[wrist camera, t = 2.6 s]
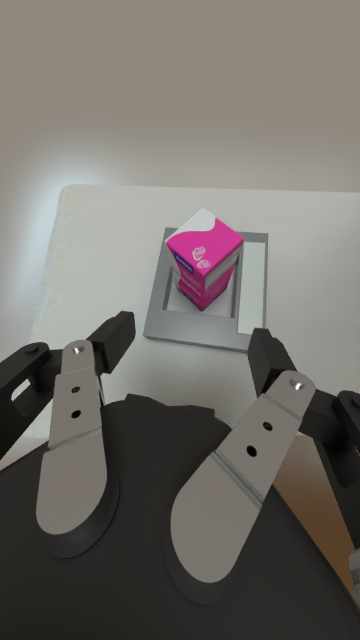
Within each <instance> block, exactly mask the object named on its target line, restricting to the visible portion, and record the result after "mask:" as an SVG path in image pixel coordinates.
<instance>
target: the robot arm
mask: <svg viewBox="0 0 360 640" xmlns="http://www.w3.org/2000/svg"><path fill="white" fill-rule="evenodd" d="M135 334H136V330H135V320H134V314H133V312H127V311H121V312H120V313H119V314H118V315H117V316H116V317H112V318H110V319H108V320H106V321H105V322H104V323H103V324H102V325H101V326H100V327H99V328H98V329H97V330H96V331H94V332H93V333H92V334H91V335H90V336H89V337H88V338H87V339H86V340H77V341H74V342H71V343H69V344H68V345H66V346H65V347H64V349H59V350H50V349H49V347H48V345H47V344H46V343H43V342H37V343H32V344H29V345H26V346H24V347H22V348H20V349H19V350H18V351H16V352H15V353H13V354H12V355H10V356H9V357H8V358H7V359H5V360H4V361H2V362H1V363H0V460H1V459H2V458H3V456H4V455H5V454H6V453H7V452H8V451H9V449H10V448H11V447H12V446H13V445H14V443H15V442H16V441H17V440H18V439H19V437H20V436H21V435H22V434H23V433H24V431H25V430H26V429H27V428H28V427H29V425H30V424H31V423H32V422H33V421H34V420H35V418H36V417H37V416H38V415H39V414H40V412H41V411H42V410H43V409H44V408H45V406H46V405H47V404H48V403H49V402H50V400H51V399H52V398H53V406H52V416H51V425H50V434H49V440H48V441H47V442H45V443H44V444H42V445H41V446H39V447H37V448H36V449H34V450H33V451H31V452H29V453H28V454H26V455H25V456H23V457H21V458H20V459H18V460H17V461H15V462H14V463H12V464H10V465H9V466H7V467H6V468H4V469H3V470H1V471H0V640H360V456H359V454H360V394H358V393H355V392H352V391H341V392H340V393H339V394H338V395H337V397H336V396H334V395H331V394H328V393H326V392H323V391H320V390H318V389H316V388H315V385H314V384H313V382H312V381H311V380H310V379H309V378H308V377H306V376H305V375H303V374H301V373H299V372H297V370H296V368H295V366H294V364H293V362H292V360H291V359H290V357H289V356H288V353H287V351H286V349H285V347H284V345H283V344H282V343H281V342H280V341H279V340H278V339H277V338H273V337H272V336H271V334H270V332H269V330H268V329H264V328H256V327H255V328H254V330H253V333H252V336H251V340H250V343H249V346H248V360H249V364H250V368H251V373H252V377H253V381H254V386H255V390H256V394H257V400H256V401H255V402H254V404H253V405H252V406H251V407H250V409H249V410H248V411H247V412H246V414H245V415H244V416H243V417H242V419H241V420H240V421H239V422H238V423H237V425H236V426H235V427H234V428H233V429H232V428H230V427H229V426H228V425H227V424H226V423H224V422H223V421H221V420H219V419H218V418H216V417H214V409H210V408H204V407H199V406H193V405H188V406H166V405H164V404H162V403H160V402H158V401H155V400H153V399H151V398H149V397H145V396H139V395H134V394H129V393H128V394H127V396H126V398H125V400H121V401H116V402H112V403H110V404H107V405H105V399H104V393H103V387H102V381H101V377H100V376H101V375H102V373H107V374H111V373H112V371H113V370H114V368H115V367H116V365H117V364H118V362H119V361H120V359H121V358H122V356H123V355H124V354H125V352H126V351H127V349H128V348H129V346H130V345H131V343H132V342H133V340H134V338H135ZM27 378H28V380H29V382H30V385H29V386H28V387H27V388H26V389H25V390H24V391H23V392H22V393H21V394H20V395H19V396H18V397H17V398H16V399H15V400H14V401H13V402H12V400H11V396H12V393H13V391H14V390H15V389H16V388H17V387H18V386H19V385H20V384H22V383H23V382H24V381H25V380H26V379H27ZM297 431H299V432H301V433H303V434H305V435H307V436H310V437H312V438H313V440H314V443H315V446H316V448H317V451H318V453H319V456H320V458H321V461H322V464H323V466H324V469H325V471H326V474H327V477H328V480H329V482H330V485H331V487H332V490H333V493H334V495H335V498H336V500H337V503H338V506H339V508H340V511H341V513H342V516H343V519H344V521H345V524H346V526H347V529H348V532H349V534H350V537H351V539H352V542H353V545H354V547H355V550H354V551H352V553H351V554H350V558H349V569H350V574H351V578H352V584H353V589H354V600H353V598H352V596H351V595H350V593H349V591H348V590H347V588H346V586H345V585H344V583H343V582H342V580H341V579H340V577H339V576H338V575H337V574H336V572H335V570H334V569H333V568H332V566H331V565H330V564H329V562H328V561H327V559H326V558H325V556H324V555H323V554H322V552H321V551H320V550H319V548H318V547H317V545H316V544H315V542H314V541H313V540H312V538H311V537H310V535H309V534H308V533H307V531H306V530H305V529H304V527H303V526H302V524H301V523H300V521H299V520H298V519H297V517H296V516H295V514H294V513H293V512H292V510H291V509H290V507H289V506H288V505H287V503H286V502H285V500H284V499H283V498H282V496H281V495H280V493H279V492H278V491H277V489H276V488H275V486H274V485H273V484H272V482H273V480H274V478H275V476H276V474H277V472H278V470H279V468H280V466H281V464H282V462H283V460H284V457H285V455H286V453H287V451H288V449H289V447H290V445H291V443H292V441H293V439H294V437H295V435H296V433H297ZM355 447H356V448H355ZM356 449H357V450H358V452H359V454H358V452H357V450H356Z"/></svg>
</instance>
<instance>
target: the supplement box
mask: <svg viewBox="0 0 360 640" xmlns="http://www.w3.org/2000/svg"><path fill="white" fill-rule="evenodd" d="M243 241H244V238H243V237H242V236H241V235H239V234H238V233H237V232H235V231H234V230H233V229H231V228H230V227H229V226H227V225H226V224H225V223H223V222H222V221H220V220H219V219H218V218H216V217H215V216H214V215H212V214H211V213H210V212H208V211H207V210H206V209H204V208H201V209H200V210H199V211H198V212H197V213H196V214H195V215H194V216H193V217H192V218H190V219H189V220H188V221H187V222H186V223H185V224H184V225H183V226H181V227H180V228H179V229H178V230H177V231H175V232H174V233H173V234H172V235H171V236H170V237H169V238H167V239H166V240H165V245H166V249H167V253H168V257H169V260H170V264H171V268H172V272H173V275H174V279H175V283H176V287H177V289H178V290H179V291H181V292H182V293H183V294H184V295H185V296H186V297H187V298H188V299H189V300H190V301H191V302H193V303H194V304H195V305H196V306H197V307H198V309H200V310H201V311H203V310H204V309H205V308H206V307H207V306H208V305H209V304H210V303H211V302H213V301H214V300H215V299H216V298H217V297H218V296H219V295H220V294H221V293H222V292H223V291H224V290H225V289H226V288H227V285H228V283H229V280H230V277H231V274H232V271H233V269H234V266H235V263H236V260H237V257H238V254H239V252H240V249H241V247H242V244H243Z"/></svg>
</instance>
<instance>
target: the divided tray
mask: <svg viewBox="0 0 360 640" xmlns="http://www.w3.org/2000/svg"><path fill="white" fill-rule="evenodd" d="M178 229H179V228H165V233H164V237H163V242H162V247H161V251H160V256H159V261H158V266H157V270H156V275H155V280H154V285H153V289H152V294H151V299H150V304H149V308H148V313H147V318H146V322H145V327H144V332H143V336H145V337H146V338H148V339H155V340H162V341H169V342H176V343H183V344H190V345H197V346H204V347H211V348H219V349H226V350H233V351H240V352H247V353H248V346H249V343H250V340H251V336H252V333H253V330H254V328H255V327H256V328H264V329H265V322H266V290H267V258H268V233H250V232H237V233H238V234H239V235H241V236H242V237H243V238H244V241H243V244H242V247H241V249H240V252H239V254H238V257H237V260H236V263H235V264H236V268H235V280H234V292H233V304H232V316H231V318H228V317H220V316H212V315H203V314H195V313H186V312H178V311H170V310H166V308H167V302H168V297H169V291H170V286H171V280H172V275H173V272H172V268H171V264H170V260H169V257H168V253H167V249H166V245H165V240H166V239H167V238H169V237H170V236H171V235H172V234H173V233H174V232H175V231H177V230H178Z"/></svg>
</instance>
